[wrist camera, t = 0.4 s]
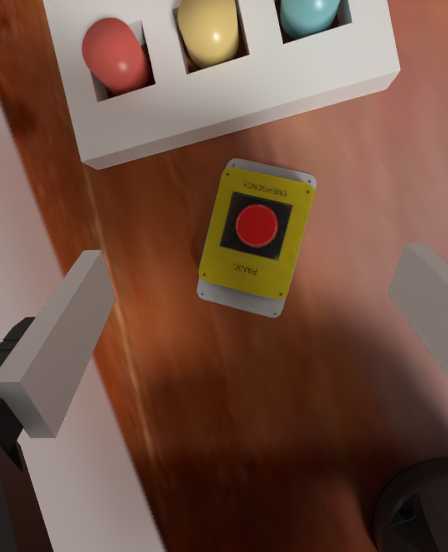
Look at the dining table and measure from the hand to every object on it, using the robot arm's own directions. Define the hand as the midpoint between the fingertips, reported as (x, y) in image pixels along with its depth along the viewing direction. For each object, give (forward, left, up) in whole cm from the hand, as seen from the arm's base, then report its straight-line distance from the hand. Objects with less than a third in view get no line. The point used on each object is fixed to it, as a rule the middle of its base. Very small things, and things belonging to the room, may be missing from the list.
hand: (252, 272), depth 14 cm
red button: (+21, +9, -17) cm, 28 cm away
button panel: (+21, 0, -18) cm, 28 cm away
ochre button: (+21, 0, -17) cm, 27 cm away
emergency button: (+2, 0, -19) cm, 19 cm away
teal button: (+21, -9, -17) cm, 29 cm away
